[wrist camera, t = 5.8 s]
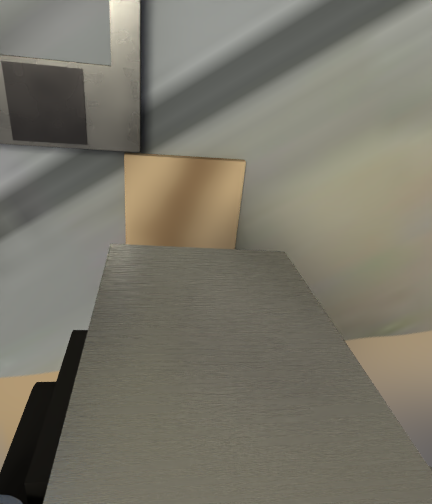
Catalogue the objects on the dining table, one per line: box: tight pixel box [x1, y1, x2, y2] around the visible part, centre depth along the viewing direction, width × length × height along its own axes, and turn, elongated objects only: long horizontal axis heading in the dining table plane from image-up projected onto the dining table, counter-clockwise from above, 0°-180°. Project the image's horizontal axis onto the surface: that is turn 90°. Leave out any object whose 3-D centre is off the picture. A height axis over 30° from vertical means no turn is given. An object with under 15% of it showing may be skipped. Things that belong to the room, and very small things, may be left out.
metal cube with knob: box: [43, 244, 432, 504], centre depth 9 cm, size 6×6×9 cm
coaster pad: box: [124, 153, 246, 249], centre depth 26 cm, size 8×8×1 cm
